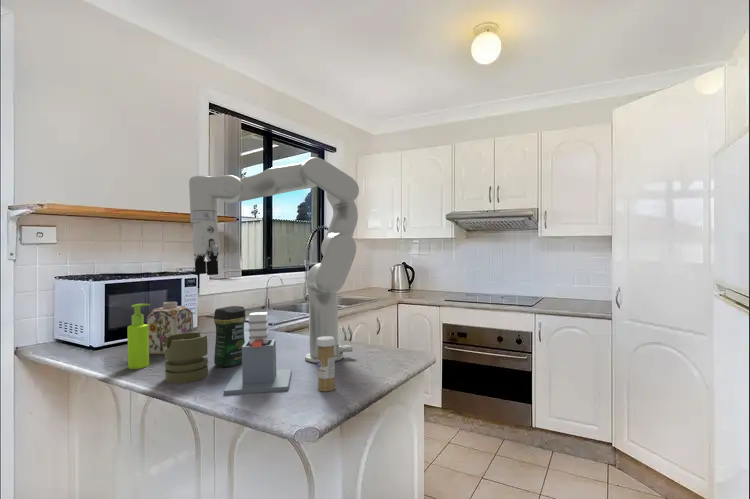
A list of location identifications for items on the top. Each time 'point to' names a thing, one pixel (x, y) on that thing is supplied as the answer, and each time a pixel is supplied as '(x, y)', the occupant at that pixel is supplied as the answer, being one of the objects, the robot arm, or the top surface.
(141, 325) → the soap dispenser
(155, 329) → the decorative jar
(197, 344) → the piston
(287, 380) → the stand
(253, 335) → the column
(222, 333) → the coffee jar
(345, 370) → the top surface
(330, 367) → the sprinkles bottle
